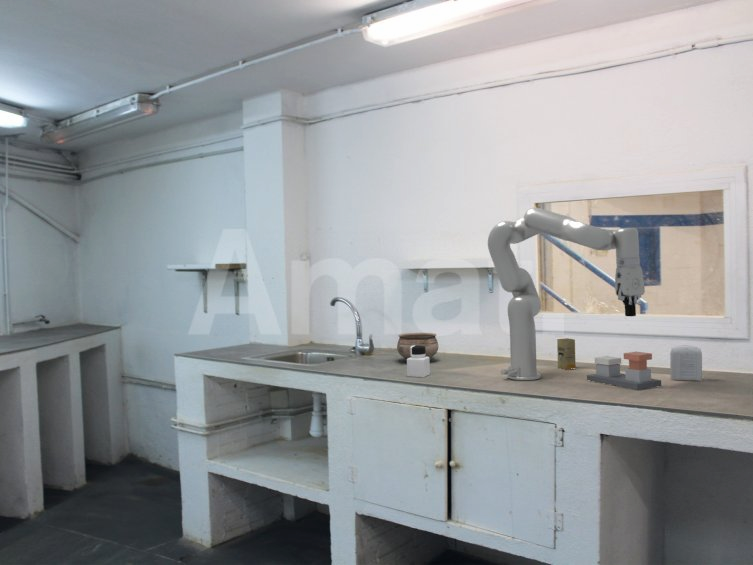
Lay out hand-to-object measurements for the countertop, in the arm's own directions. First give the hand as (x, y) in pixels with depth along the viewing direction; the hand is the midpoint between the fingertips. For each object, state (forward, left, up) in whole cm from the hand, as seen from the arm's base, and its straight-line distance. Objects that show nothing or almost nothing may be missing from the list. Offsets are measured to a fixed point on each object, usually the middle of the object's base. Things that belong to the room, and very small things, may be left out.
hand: (630, 316), depth 217 cm
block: (0, +4, -24) cm, 24 cm away
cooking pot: (-30, +93, -24) cm, 100 cm away
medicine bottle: (-49, +62, -24) cm, 83 cm away
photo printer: (+22, -5, -24) cm, 33 cm away
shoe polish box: (+7, +38, -24) cm, 45 cm away
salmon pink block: (0, -3, -19) cm, 19 cm away
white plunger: (0, +10, -22) cm, 24 cm away
